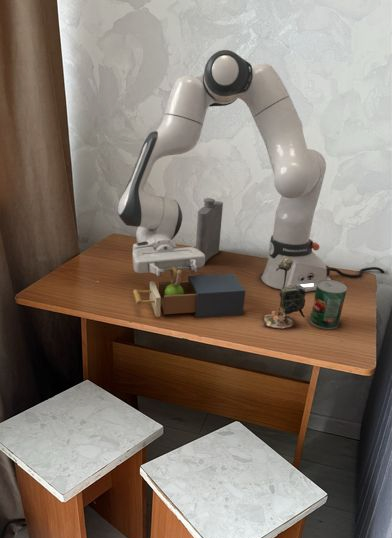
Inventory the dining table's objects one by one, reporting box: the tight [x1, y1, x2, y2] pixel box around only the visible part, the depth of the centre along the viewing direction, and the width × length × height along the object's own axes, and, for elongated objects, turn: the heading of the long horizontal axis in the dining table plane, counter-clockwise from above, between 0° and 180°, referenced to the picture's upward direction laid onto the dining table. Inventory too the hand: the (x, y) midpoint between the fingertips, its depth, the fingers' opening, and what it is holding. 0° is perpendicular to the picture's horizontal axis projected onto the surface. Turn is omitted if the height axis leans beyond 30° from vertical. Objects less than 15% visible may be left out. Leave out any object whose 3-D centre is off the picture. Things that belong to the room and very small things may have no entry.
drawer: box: [132, 280, 197, 318], centre depth 136 cm, size 17×10×6 cm, turn 104°
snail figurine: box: [164, 266, 184, 295], centre depth 135 cm, size 5×6×12 cm
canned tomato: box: [309, 279, 348, 330], centre depth 134 cm, size 8×8×11 cm
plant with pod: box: [262, 256, 306, 330], centre depth 130 cm, size 8×11×20 cm
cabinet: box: [187, 273, 246, 319], centre depth 139 cm, size 13×11×7 cm
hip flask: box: [195, 197, 224, 263], centre depth 167 cm, size 16×4×20 cm, turn 155°
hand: (177, 271), depth 132 cm, fingers open, 8 cm apart
